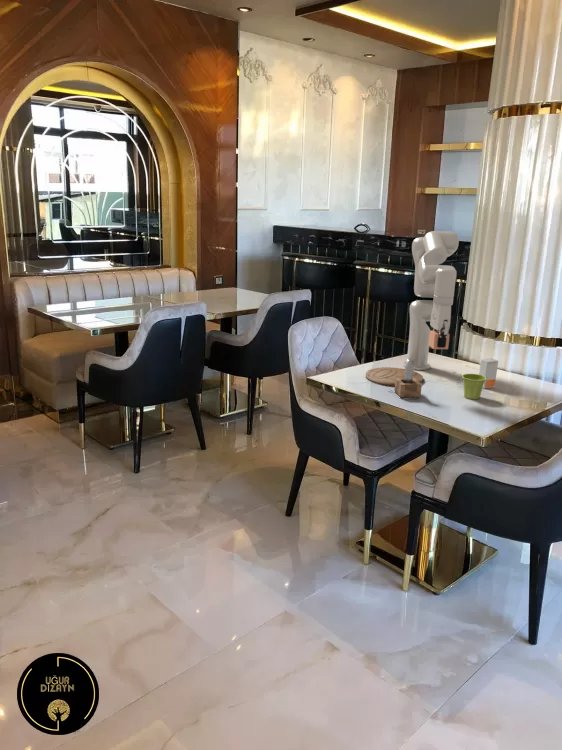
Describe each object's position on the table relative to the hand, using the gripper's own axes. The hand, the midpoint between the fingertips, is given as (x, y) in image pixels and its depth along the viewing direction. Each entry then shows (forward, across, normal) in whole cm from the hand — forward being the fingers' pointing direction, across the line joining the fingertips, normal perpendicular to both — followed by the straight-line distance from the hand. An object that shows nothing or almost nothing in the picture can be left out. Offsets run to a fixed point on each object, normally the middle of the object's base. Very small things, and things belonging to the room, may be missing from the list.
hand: (438, 344), depth 246 cm
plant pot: (+21, +4, +15) cm, 26 cm away
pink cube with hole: (+1, 0, 0) cm, 1 cm away
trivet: (+22, -22, -10) cm, 33 cm away
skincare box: (+21, -10, +27) cm, 36 cm away
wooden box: (+21, +1, -11) cm, 24 cm away
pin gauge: (+20, +1, -11) cm, 23 cm away
